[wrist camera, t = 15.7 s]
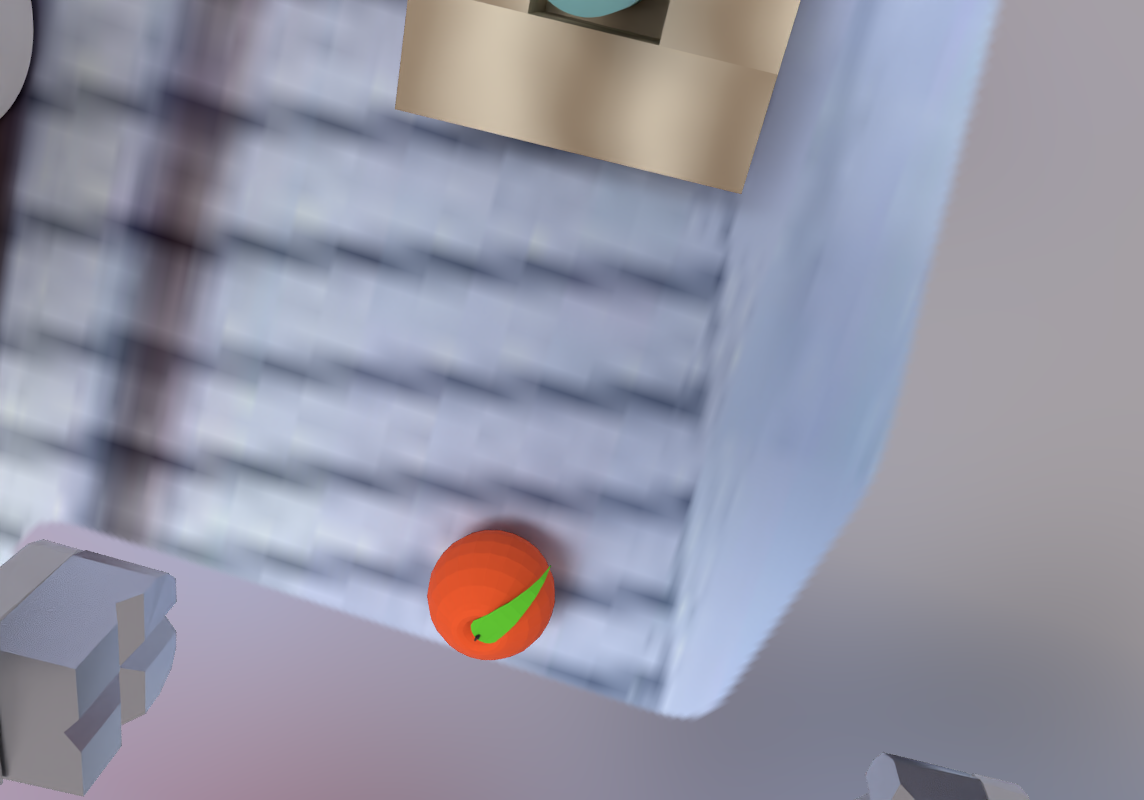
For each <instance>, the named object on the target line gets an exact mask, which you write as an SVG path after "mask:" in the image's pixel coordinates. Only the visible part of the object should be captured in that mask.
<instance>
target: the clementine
mask: <svg viewBox="0 0 1144 800" xmlns="http://www.w3.org/2000/svg"><path fill="white" fill-rule="evenodd" d="M550 567H551V565H550V566H548V564H547V562H546V560H545V558H544V557H543V555H542V554H541V553H540V551H539V550H538V549H537V548H536V547H535V546H534V545H532V544H531V543H530V542H529V541H527V540H526V539H524V538H522V537H520V536H518V535H516V534H513V533H509V532H505V531H501V530H483V531H479V532H474V533H471V534H469V535H467V536H466V537H464V538H462V539H460V540H458V541H456V542H455V543H453V544H452V545H451V546H450V547H449V548H448V549H447V550H446V551H445V552H444V553H443V554H442V556H441V557H440V559H439V560H438V562H437V563H436V565H435V567H434V569H433V571H432V573H431V578H430V582H429V588H428V595H427V598H428V604H429V610H430V615H431V619H432V621H433V623H434V626H435V628H436V630H437V631H438V632H439V633H440V635H441V636H442V637H443V638H444V639H445V640H446V642H447V643H448V644H449V645H450V646H451V647H453V648H454V649H455V650H457V651H458V652H460V653H462V654H464V655H466V656H469V657H472V658H476V659H480V660H497V659H502V658H507V657H511V656H513V655H515V654H518V653H520V652H522V651H524V650H525V649H526V648H527V647H529V646H530V645H531V644H532V643H533V642H534V641H535V640H537V639H538V638H539V637H540V636H541V634H542V632H543V631H544V629H545V628H546V626H547V624H548V622H549V620H550V617H551V615H552V611H553V607H554V603H555V588H554V578H553V576H552V573H551V571H550Z"/></svg>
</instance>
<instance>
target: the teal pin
mask: <svg viewBox="0 0 1144 800" xmlns="http://www.w3.org/2000/svg"><path fill="white" fill-rule="evenodd" d="M548 1H549V2H551V3H552V4H553V5H554V6H556V7H557V8H559V9H560V10H562V11H564V12H566V13H568V14H571V15H575V16H579V17H600V16H604V15H608V14H611V13H614V12H617V11H620V10H622V9H625V8H628V7H631V6H633V5H636V4H637V3H639V2H641V1H642V0H548Z"/></svg>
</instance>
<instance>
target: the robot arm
mask: <svg viewBox="0 0 1144 800" xmlns="http://www.w3.org/2000/svg"><path fill="white" fill-rule="evenodd" d="M32 46H33V14H32V4H31V0H0V118H1V117H2V116H3V115H4V114H5V113H6V112H7V111H8V110H9V108H10V107H11V106H12V104H13V103H14V101H15V100H16V98H17V96H18V94H19V93H20V91H21V88H22V86H23V84H24V81H25V78H26V76H27V72H28V69H29V65H30V60H31V54H32ZM176 601H177V599H176V579H175V578H174V577H173V576H171V575H170V574H169V573H166V572H163V571H159V570H155V569H151V568H148V567H145V566H141V565H137V564H134V563H130V562H126V561H123V560H119V559H116V558H112V557H109V556H105V555H101V554H98V553H94V552H90V551H87V550H85V551H83V550H79V549H76V548H72V547H69V546H65V545H62V544H58V543H55V542H51V541H48V540H44V539H43V540H39V541H36V542H32V543H29V544H28V545H26V546H25V547H24V548H22V549H21V550H20V551H19V552H18V553H16V554H15V555H14V556H13V557H12V558H10V559H9V560H8V561H7V562H6V563H4V564H3V565H2V566H1V567H0V785H1V784H2V783H3V779H7V780H12V781H16V782H21V783H25V784H30V785H34V786H39V787H43V788H48V789H52V790H57V791H61V792H65V793H70V794H74V795H79V796H84V795H85V794H86V793H87V791H88V790H89V789H90V787H91V786H92V784H93V783H94V782H95V781H96V779H97V778H98V777H99V775H100V774H101V773H102V771H103V770H104V769H105V767H106V766H107V765H108V763H109V762H110V761H111V759H112V758H113V757H114V755H115V754H116V753H117V751H118V750H119V749H120V747H121V746H122V743H121V742H122V740H121V725H123V724H125V723H127V722H129V721H131V720H134V719H136V718H138V717H140V716H142V715H144V714H146V712H147V711H148V709H149V708H150V707H151V705H152V704H153V702H154V701H155V699H156V698H157V697H158V695H159V694H160V692H161V690H162V688H163V686H164V683H165V681H166V679H167V677H168V675H169V673H170V670H171V668H172V664H173V659H174V655H175V650H176V630H175V629H174V627H173V626H172V625H171V623H170V622H169V621H168V619H167V618H166V616H165V615H166V614H167V613H168V611H169V610H170V609H171V608H172V606H173V605H174V604H175V603H176ZM865 776H866V781H867V785H868V790H869V793H867V794H865V795H863V796H861V797H859V798H857V799H855V800H1029V797H1028V795H1027V794H1026V792H1025V791H1024V790H1022V788H1021V787H1020V786H1019V785H1018V784H1015V783H1011V782H1006V781H1001V780H998V779H993V778H989V777H985V776H981V775H977V774H968V773H966V772H963V771H959V770H954V769H950V768H946V767H942V766H938V765H934V764H930V763H926V762H921V761H917V760H913V759H909V758H905V757H901V756H897V755H893V754H888V753H884V752H883V753H882V754H880V755H879V756H878V757H876V758H875V759H874V760H873V762H872V763H871V765H870V767H869V769H868V771H867V772H866V774H865Z"/></svg>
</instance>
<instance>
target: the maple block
mask: <svg viewBox="0 0 1144 800" xmlns="http://www.w3.org/2000/svg"><path fill="white" fill-rule="evenodd" d="M800 1H801V0H642V1H641V2H639V3H637V4H636V5H633V6H631V7H628V8H625V9H622V10H620V11H617V12H614V13H611V14H608V15H604V16H600V17H579V16H575V15H571V14H568V13H566V12H564V11H562V10H560V9H559V8H557V7H556V6H554V5H553V4H552V3H551V2H549V1H548V0H408V2H407V11H406V19H405V28H404V36H403V45H402V53H401V62H400V70H399V79H398V87H397V96H396V104H395V109H397V110H401V111H405V112H409V113H413V114H417V115H421V116H425V117H429V118H433V119H437V120H442V121H446V122H450V123H454V124H458V125H462V126H466V127H470V128H474V129H478V130H482V131H486V132H490V133H494V134H499V135H503V136H507V137H511V138H515V139H519V140H523V141H527V142H531V143H535V144H539V145H543V146H547V147H551V148H556V149H560V150H564V151H568V152H572V153H576V154H580V155H584V156H588V157H592V158H596V159H600V160H604V161H608V162H613V163H617V164H621V165H625V166H629V167H633V168H637V169H641V170H645V171H649V172H653V173H657V174H661V175H665V176H670V177H674V178H678V179H682V180H686V181H690V182H694V183H698V184H702V185H706V186H710V187H714V188H718V189H722V190H727V191H731V192H735V193H739V194H741V193H742V190H743V187H744V183H745V180H746V177H747V174H748V170H749V167H750V164H751V161H752V157H753V154H754V151H755V148H756V144H757V141H758V138H759V134H760V131H761V128H762V125H763V121H764V118H765V115H766V112H767V108H768V105H769V102H770V99H771V95H772V92H773V89H774V85H775V82H776V79H777V76H778V72H779V69H780V66H781V63H782V59H783V56H784V53H785V50H786V46H787V43H788V40H789V36H790V33H791V30H792V27H793V23H794V20H795V17H796V14H797V10H798V7H799V4H800Z"/></svg>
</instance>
